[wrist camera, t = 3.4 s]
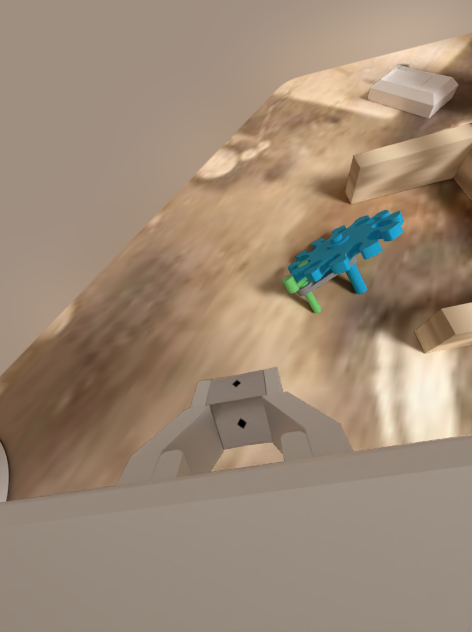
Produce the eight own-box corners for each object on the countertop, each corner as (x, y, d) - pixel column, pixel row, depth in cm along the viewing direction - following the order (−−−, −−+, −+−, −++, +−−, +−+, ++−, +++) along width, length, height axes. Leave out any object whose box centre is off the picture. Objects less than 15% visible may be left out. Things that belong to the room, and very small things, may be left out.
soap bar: (427, 121, 33) (437, 97, 31) (366, 102, 37) (371, 80, 35) (450, 101, 34) (462, 76, 32) (389, 84, 38) (395, 61, 36)
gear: (353, 208, 27) (432, 194, 18) (374, 256, 29) (457, 267, 19) (265, 268, 28) (295, 285, 18) (291, 311, 30) (331, 346, 20)
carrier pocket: (425, 353, 21) (455, 334, 17) (345, 192, 30) (353, 155, 26) (600, 320, 20) (677, 291, 16) (462, 161, 29) (490, 117, 25)
